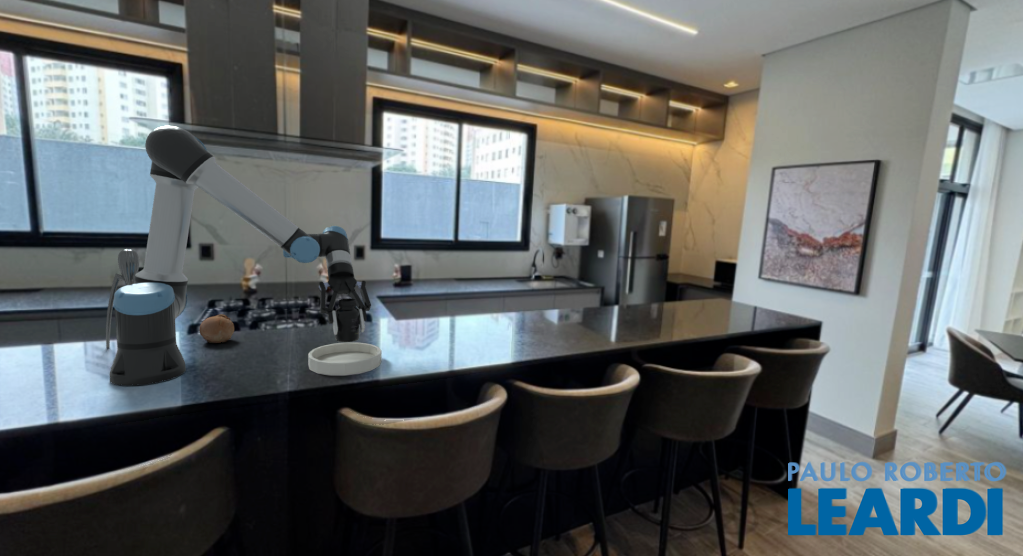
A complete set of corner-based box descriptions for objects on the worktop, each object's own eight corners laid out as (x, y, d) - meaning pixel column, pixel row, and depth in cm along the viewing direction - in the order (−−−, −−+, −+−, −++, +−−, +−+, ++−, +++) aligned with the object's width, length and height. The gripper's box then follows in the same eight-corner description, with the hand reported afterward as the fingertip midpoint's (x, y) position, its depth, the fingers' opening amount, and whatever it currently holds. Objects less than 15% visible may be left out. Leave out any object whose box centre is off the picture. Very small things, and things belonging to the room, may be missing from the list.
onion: (224, 347, 147) (234, 318, 151) (232, 346, 141) (242, 316, 144) (192, 341, 141) (202, 311, 145) (198, 339, 135) (209, 308, 138)
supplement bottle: (330, 341, 127) (329, 300, 125) (344, 335, 133) (344, 296, 132) (350, 343, 125) (350, 302, 123) (364, 337, 132) (364, 298, 130)
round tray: (313, 379, 116) (313, 366, 116) (305, 357, 133) (305, 346, 133) (388, 370, 126) (388, 358, 126) (372, 350, 143) (372, 340, 143)
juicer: (105, 347, 132) (98, 249, 128) (149, 339, 141) (144, 247, 137) (121, 353, 127) (114, 251, 123) (165, 345, 137) (160, 250, 133)
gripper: (370, 274, 145) (381, 334, 133) (305, 276, 135) (311, 340, 123) (373, 260, 140) (386, 321, 128) (306, 261, 130) (313, 327, 118)
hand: (349, 331), depth 126 cm, fingers closed on supplement bottle, 7 cm apart
